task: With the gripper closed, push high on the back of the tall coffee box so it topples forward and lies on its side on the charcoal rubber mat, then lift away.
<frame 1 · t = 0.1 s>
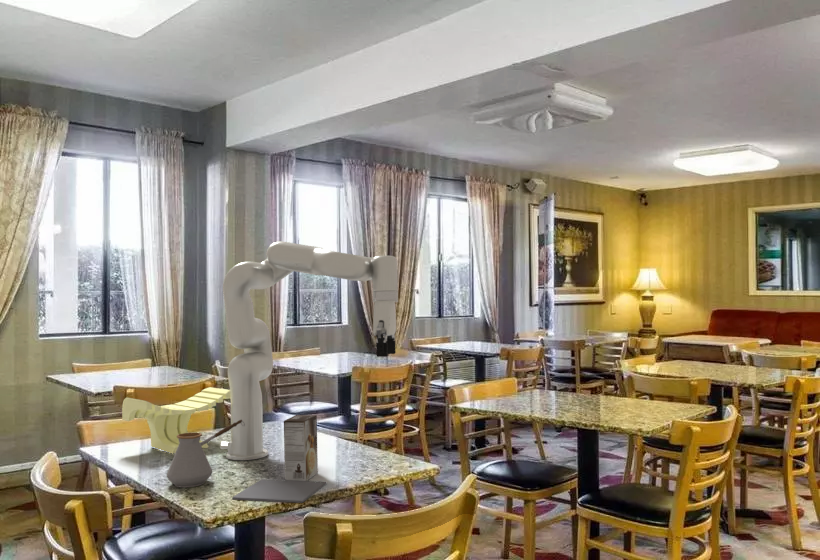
hand: (386, 355, 204), 31 cm above the table, tool pointing down, fingers open, 9 cm apart
coffee pot: (207, 481, 185), on the table
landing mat: (281, 491, 173), on the table
slatted curved stool: (178, 447, 228), on the table
coffee box: (301, 477, 187), on the table
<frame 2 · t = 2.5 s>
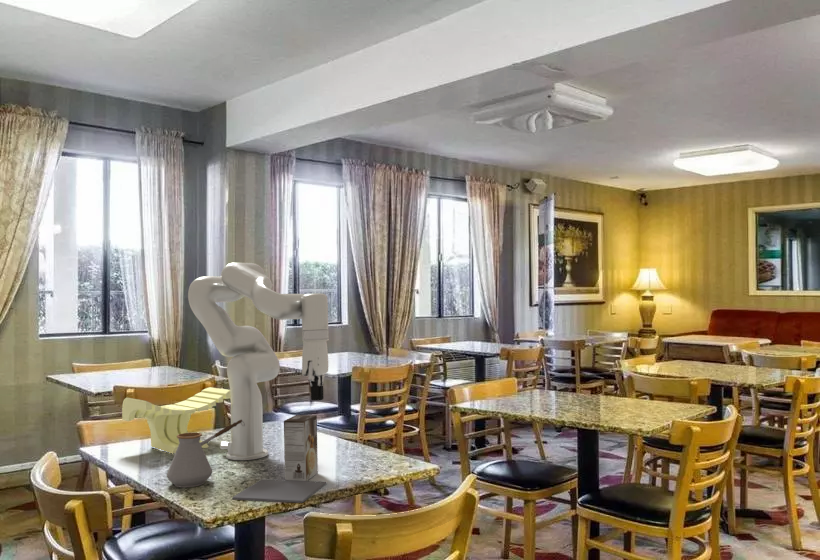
hand: (317, 399, 199), 19 cm above the table, tool pointing down, fingers closed
nothing on the table moved.
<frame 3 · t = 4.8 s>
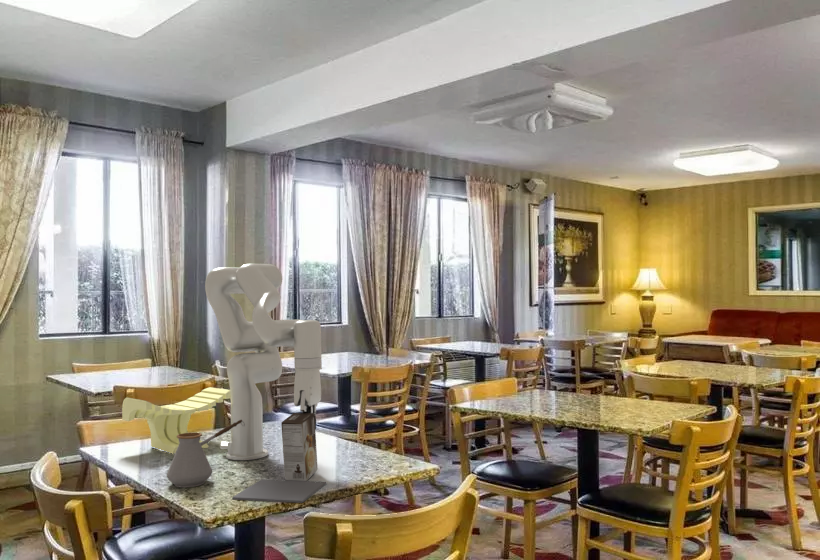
hand: (309, 430, 192), 12 cm above the table, tool pointing down, fingers closed
coffee box: (301, 475, 187), on the table, touching gripper
everything else where it was.
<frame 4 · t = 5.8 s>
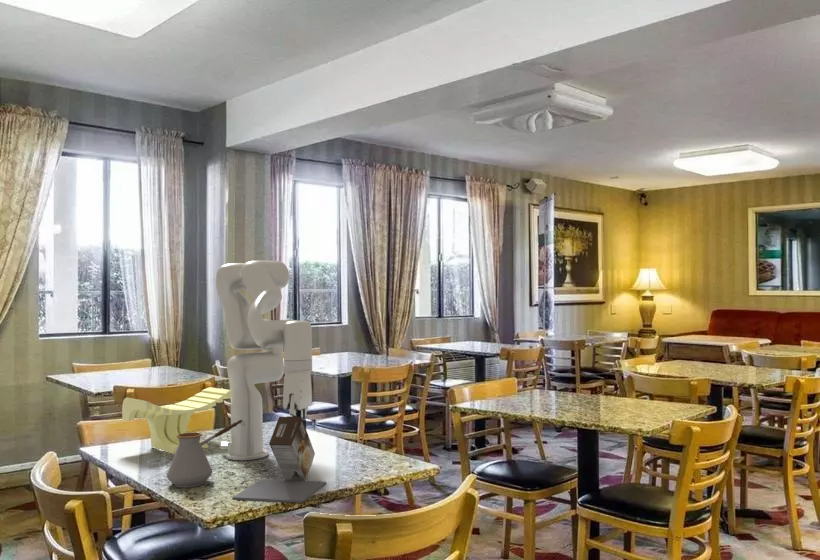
hand: (299, 435, 185), 12 cm above the table, tool pointing down, fingers closed
coffee box: (300, 467, 186), point 3 cm above the table, touching gripper
everything else where it was.
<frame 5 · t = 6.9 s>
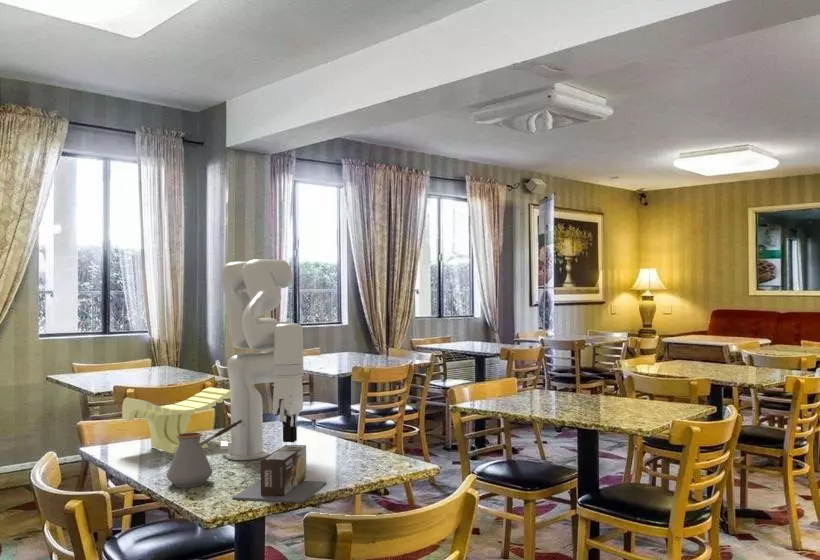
hand: (289, 441, 179), 11 cm above the table, tool pointing down, fingers closed
coffee box: (295, 461, 183), point 5 cm above the table, touching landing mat
everything else where it was.
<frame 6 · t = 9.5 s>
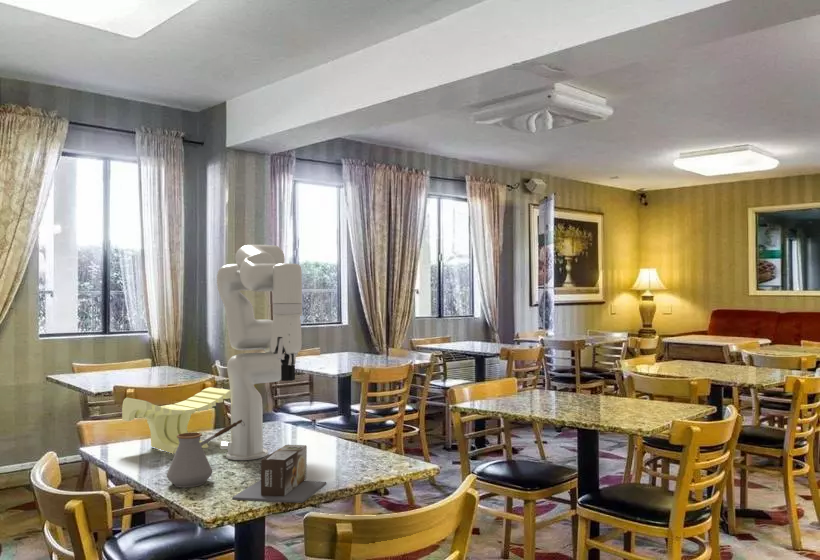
hand: (288, 380, 181), 27 cm above the table, tool pointing down, fingers closed
nothing on the table moved.
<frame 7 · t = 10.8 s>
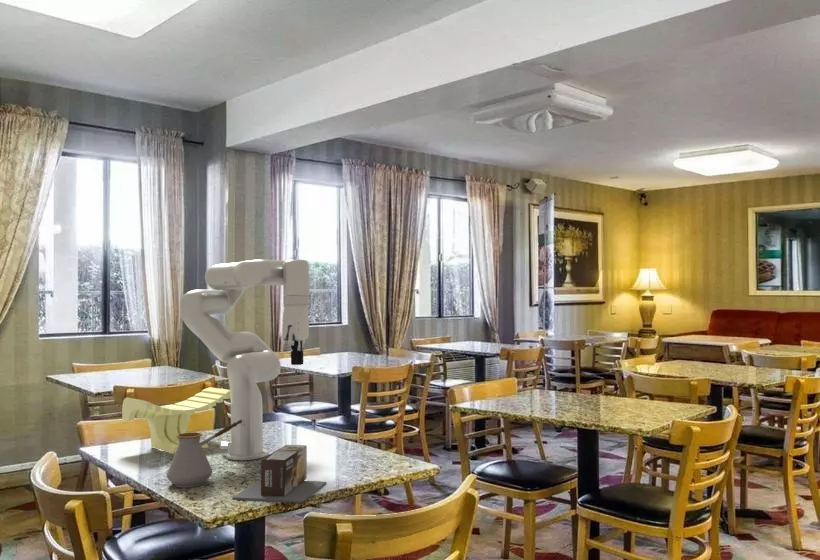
hand: (297, 364, 201), 29 cm above the table, tool pointing down, fingers closed
nothing on the table moved.
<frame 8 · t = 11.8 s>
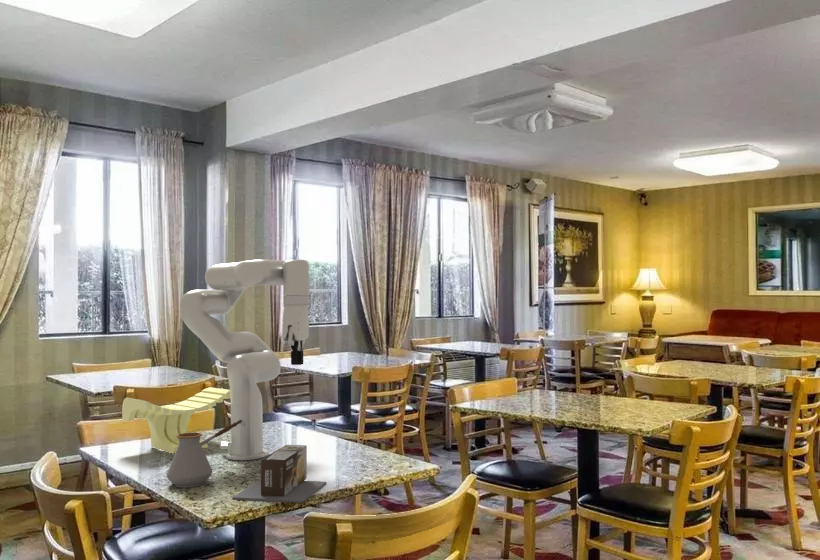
hand: (297, 364, 201), 29 cm above the table, tool pointing down, fingers closed
nothing on the table moved.
at the end: coffee box tilted 89°; coffee box inside the target area (1.0 cm from its centre), point 4.9 cm above the table; coffee box touching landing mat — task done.
